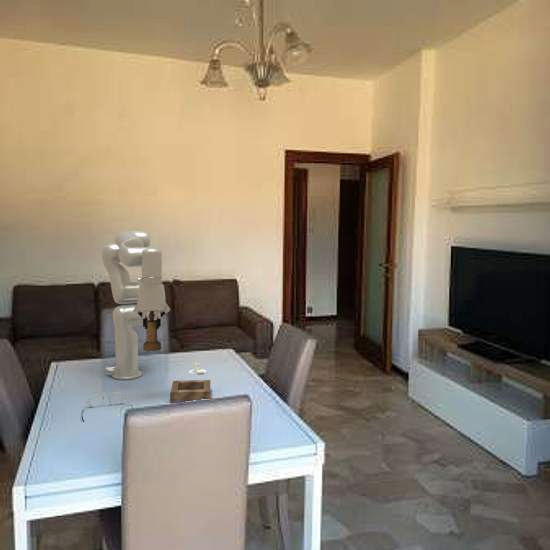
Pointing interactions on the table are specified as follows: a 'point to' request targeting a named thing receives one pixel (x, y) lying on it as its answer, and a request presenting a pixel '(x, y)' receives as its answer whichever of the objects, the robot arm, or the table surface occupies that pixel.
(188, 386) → the walnut holder
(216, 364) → the table surface
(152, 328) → the brown flared column
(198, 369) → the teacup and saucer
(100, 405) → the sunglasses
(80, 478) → the table surface
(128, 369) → the robot arm
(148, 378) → the table surface
